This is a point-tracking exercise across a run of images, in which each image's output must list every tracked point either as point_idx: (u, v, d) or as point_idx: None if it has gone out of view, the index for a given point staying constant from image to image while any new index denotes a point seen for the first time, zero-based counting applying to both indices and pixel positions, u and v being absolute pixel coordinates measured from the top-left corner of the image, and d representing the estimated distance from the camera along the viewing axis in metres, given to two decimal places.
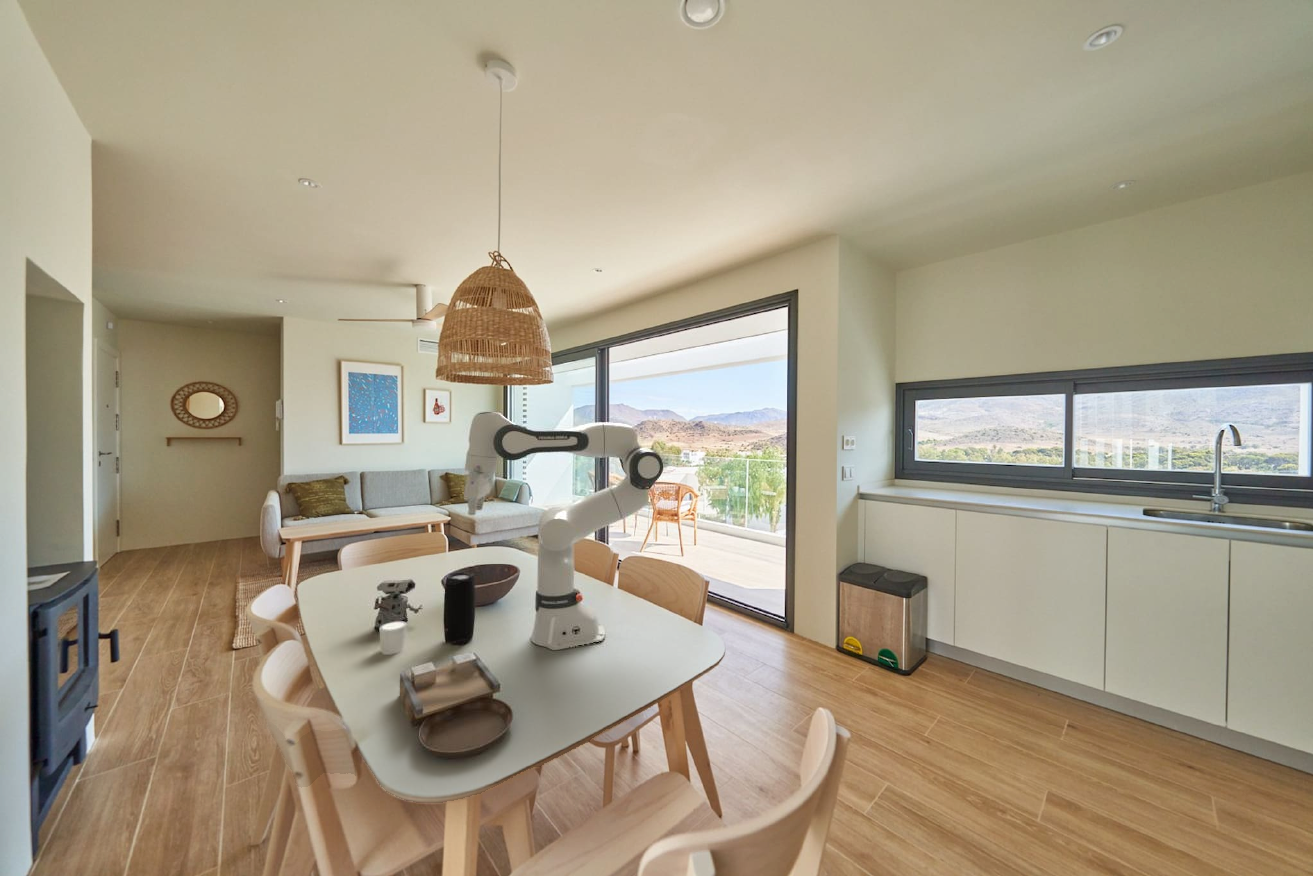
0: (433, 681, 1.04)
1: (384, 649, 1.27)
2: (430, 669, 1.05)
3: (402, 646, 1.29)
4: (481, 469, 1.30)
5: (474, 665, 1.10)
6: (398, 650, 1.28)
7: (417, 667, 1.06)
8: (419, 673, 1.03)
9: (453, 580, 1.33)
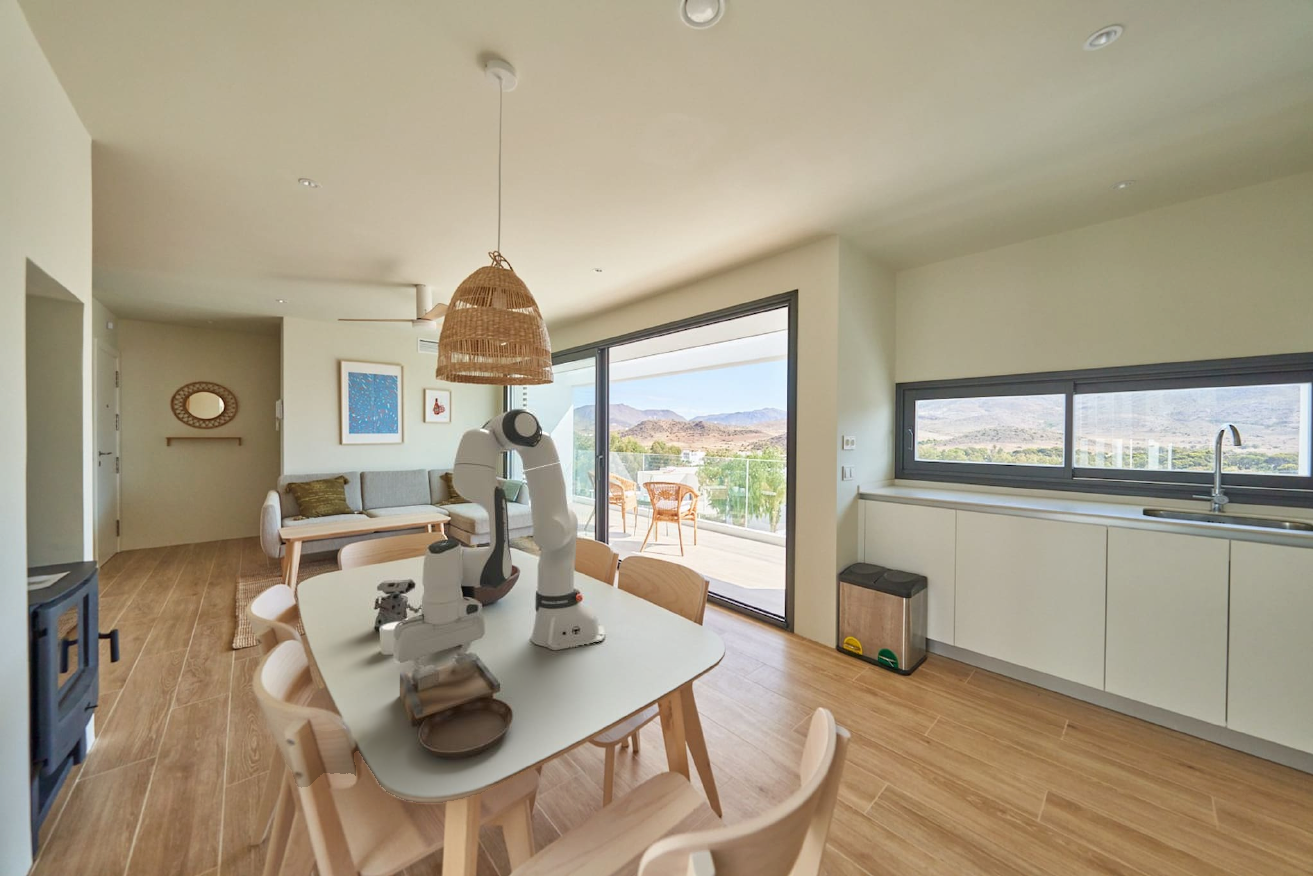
0: (436, 683, 1.03)
1: (384, 649, 1.27)
2: (433, 671, 1.04)
3: None
4: (424, 618, 1.06)
5: (475, 666, 1.10)
6: None
7: (419, 670, 1.04)
8: (422, 675, 1.02)
9: None
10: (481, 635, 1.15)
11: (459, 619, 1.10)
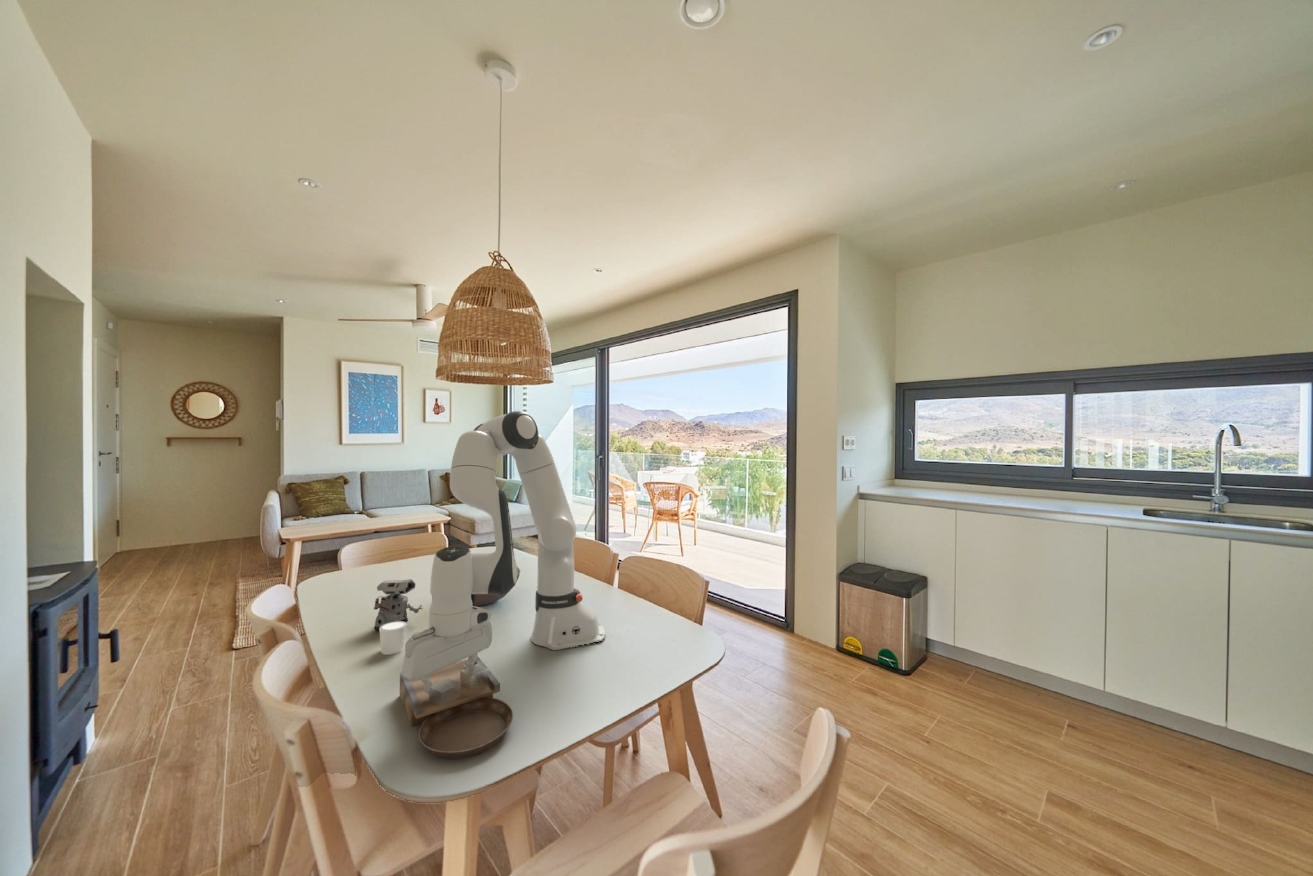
0: (458, 696, 0.99)
1: (384, 649, 1.27)
2: (453, 683, 0.99)
3: (402, 646, 1.29)
4: (436, 631, 0.99)
5: (486, 676, 1.05)
6: (398, 650, 1.28)
7: (437, 685, 0.98)
8: (445, 690, 0.96)
9: None
10: (489, 644, 1.10)
11: (469, 629, 1.04)
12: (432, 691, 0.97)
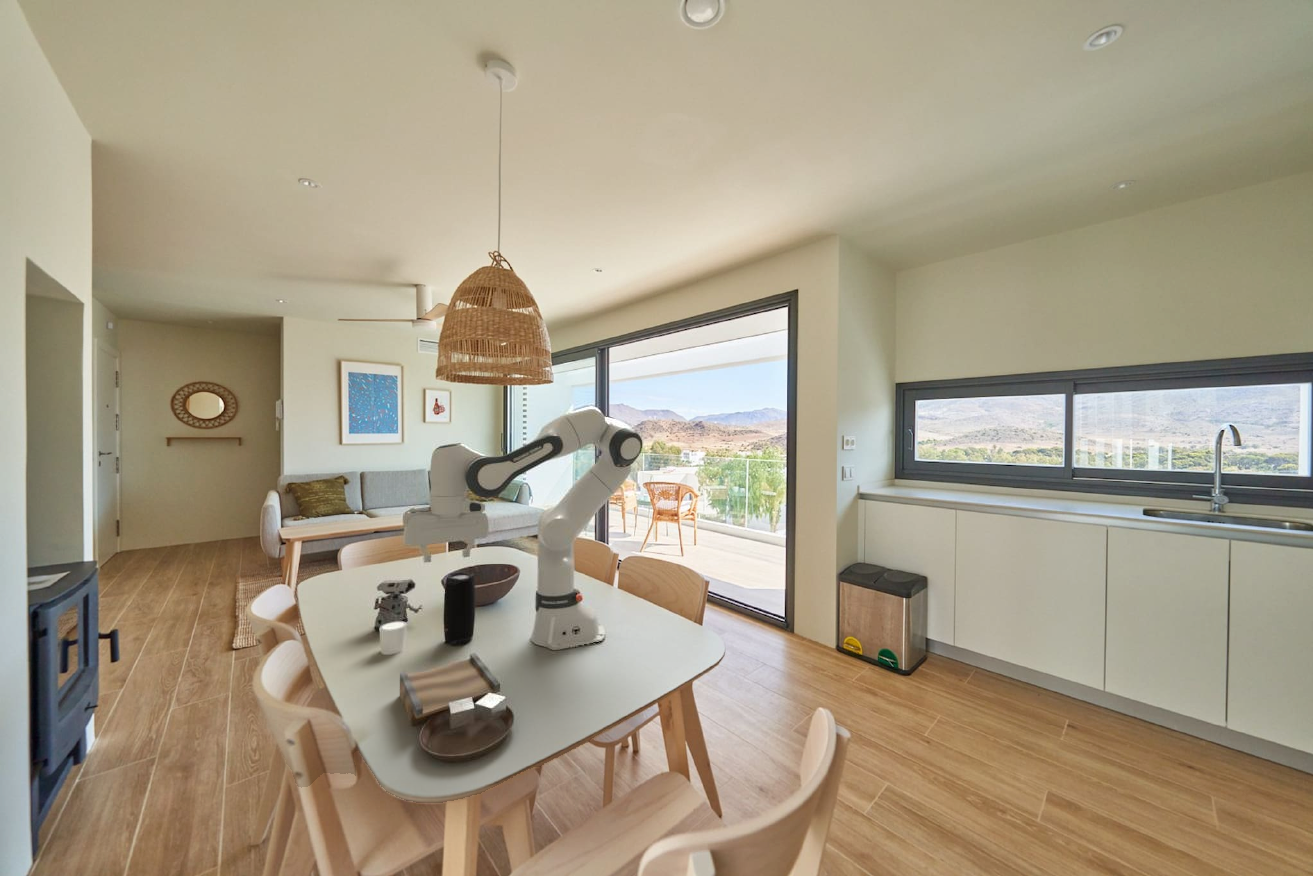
0: None
1: (384, 649, 1.27)
2: (467, 700, 0.95)
3: (402, 646, 1.29)
4: (431, 510, 1.15)
5: (504, 705, 0.96)
6: (398, 650, 1.28)
7: (455, 709, 0.92)
8: (472, 705, 0.94)
9: (453, 580, 1.33)
10: (485, 534, 1.22)
11: (463, 515, 1.18)
12: (457, 715, 0.91)
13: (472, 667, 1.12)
